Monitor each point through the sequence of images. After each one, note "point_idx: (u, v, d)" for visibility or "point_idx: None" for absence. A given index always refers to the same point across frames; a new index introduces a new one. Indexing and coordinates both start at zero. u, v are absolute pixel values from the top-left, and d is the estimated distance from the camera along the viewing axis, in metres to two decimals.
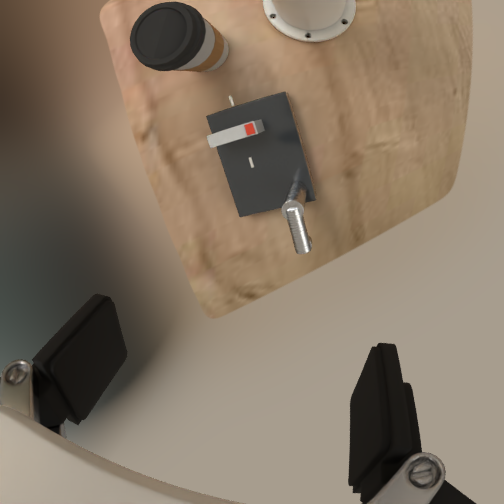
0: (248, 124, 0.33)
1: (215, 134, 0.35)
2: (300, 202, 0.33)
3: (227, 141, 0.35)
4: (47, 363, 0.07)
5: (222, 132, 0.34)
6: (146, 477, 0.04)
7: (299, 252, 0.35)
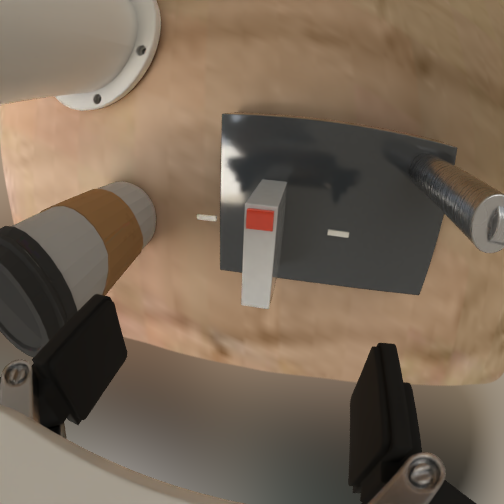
0: (248, 218, 0.15)
1: (244, 288, 0.17)
2: (486, 193, 0.09)
3: (269, 274, 0.16)
4: (47, 363, 0.07)
5: (246, 275, 0.17)
6: (146, 477, 0.04)
7: None
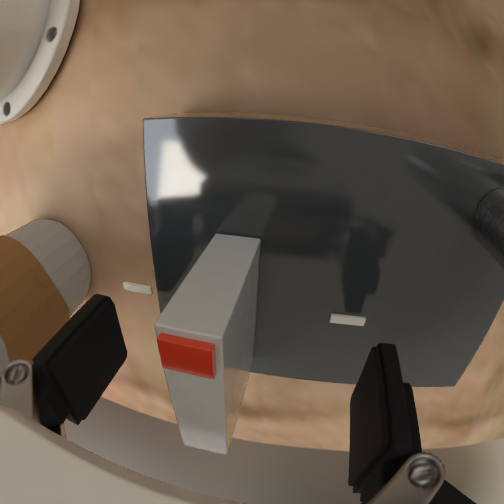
0: (163, 352, 0.07)
1: (184, 431, 0.09)
2: None
3: (219, 424, 0.08)
4: (47, 363, 0.07)
5: (181, 419, 0.08)
6: (146, 477, 0.04)
7: None
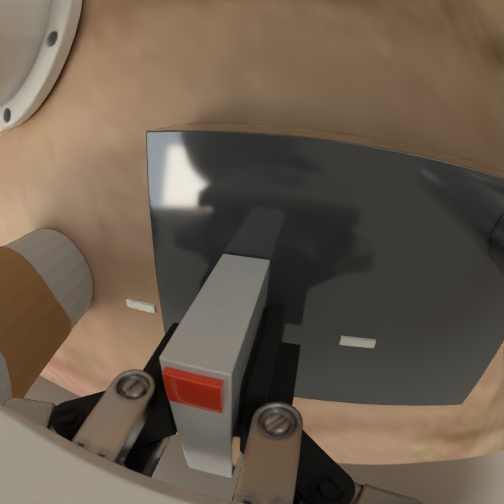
0: (168, 386, 0.06)
1: (189, 456, 0.08)
2: None
3: (226, 451, 0.08)
4: None
5: (186, 445, 0.08)
6: (146, 477, 0.04)
7: None
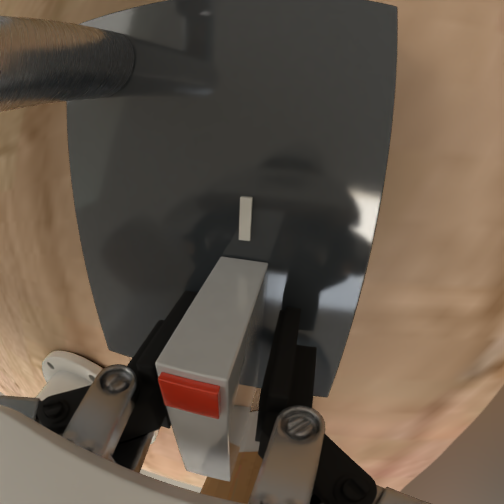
0: (165, 391, 0.06)
1: (186, 460, 0.08)
2: None
3: (223, 456, 0.07)
4: (155, 365, 0.08)
5: (184, 449, 0.08)
6: (146, 477, 0.04)
7: None
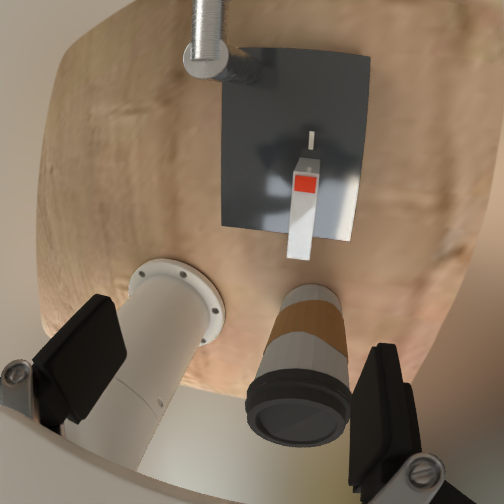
0: (296, 182, 0.19)
1: (290, 243, 0.21)
2: None
3: (310, 229, 0.20)
4: (47, 363, 0.07)
5: (292, 230, 0.20)
6: (146, 477, 0.04)
7: None
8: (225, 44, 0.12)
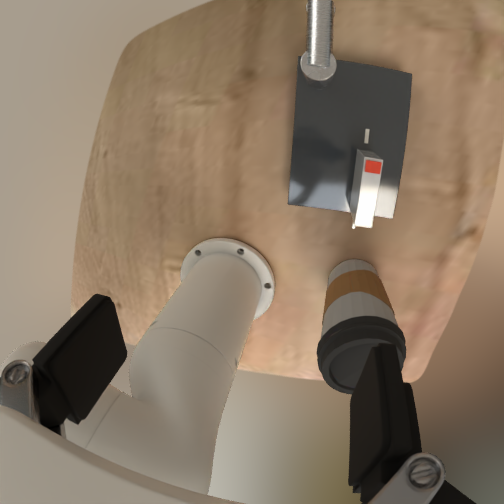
0: (366, 165, 0.23)
1: (358, 213, 0.25)
2: None
3: (374, 202, 0.24)
4: (47, 363, 0.07)
5: (360, 203, 0.25)
6: (146, 477, 0.04)
7: (326, 1, 0.15)
8: (334, 57, 0.17)
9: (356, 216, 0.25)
